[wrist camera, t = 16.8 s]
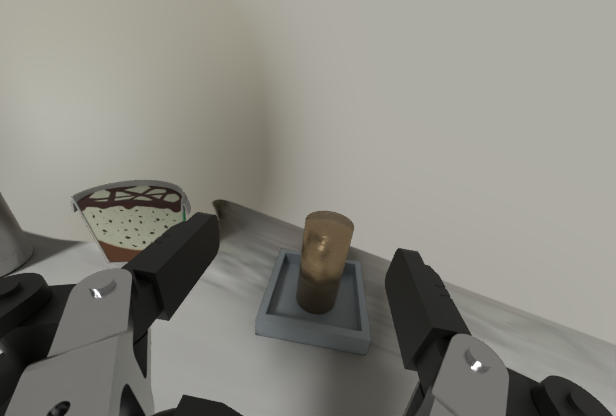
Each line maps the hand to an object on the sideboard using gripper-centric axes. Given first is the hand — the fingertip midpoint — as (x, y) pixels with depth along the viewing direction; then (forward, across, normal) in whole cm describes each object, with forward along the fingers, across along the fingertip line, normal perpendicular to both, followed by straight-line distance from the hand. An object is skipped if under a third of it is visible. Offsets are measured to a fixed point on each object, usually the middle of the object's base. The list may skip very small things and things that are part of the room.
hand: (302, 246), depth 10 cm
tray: (+11, -2, +17) cm, 21 cm away
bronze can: (+11, -2, +17) cm, 20 cm away
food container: (+15, +22, +18) cm, 32 cm away
